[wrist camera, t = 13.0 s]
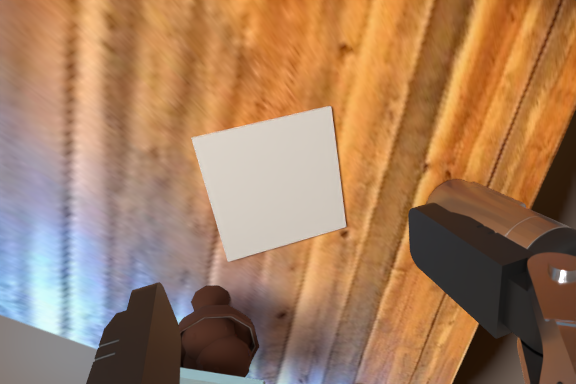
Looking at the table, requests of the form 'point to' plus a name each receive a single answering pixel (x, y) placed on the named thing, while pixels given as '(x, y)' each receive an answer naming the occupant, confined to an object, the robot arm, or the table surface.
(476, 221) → the robot arm
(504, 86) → the table surface
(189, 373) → the cover sheet
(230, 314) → the ice cream bowl
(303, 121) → the mat
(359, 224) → the table surface
